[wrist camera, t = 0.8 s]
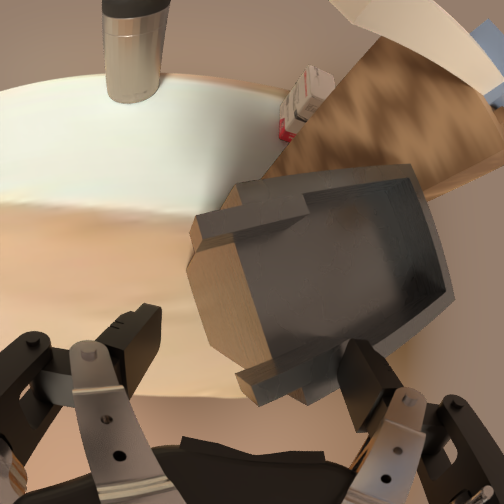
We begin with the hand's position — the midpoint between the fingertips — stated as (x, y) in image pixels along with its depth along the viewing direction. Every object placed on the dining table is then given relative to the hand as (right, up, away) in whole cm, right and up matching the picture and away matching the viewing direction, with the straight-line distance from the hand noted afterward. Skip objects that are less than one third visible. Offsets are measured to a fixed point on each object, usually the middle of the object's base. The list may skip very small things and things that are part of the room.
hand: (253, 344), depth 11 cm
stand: (+8, +10, +31) cm, 33 cm away
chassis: (-1, -2, +25) cm, 25 cm away
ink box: (+7, +26, +34) cm, 44 cm away
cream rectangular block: (+12, +15, -1) cm, 20 cm away
